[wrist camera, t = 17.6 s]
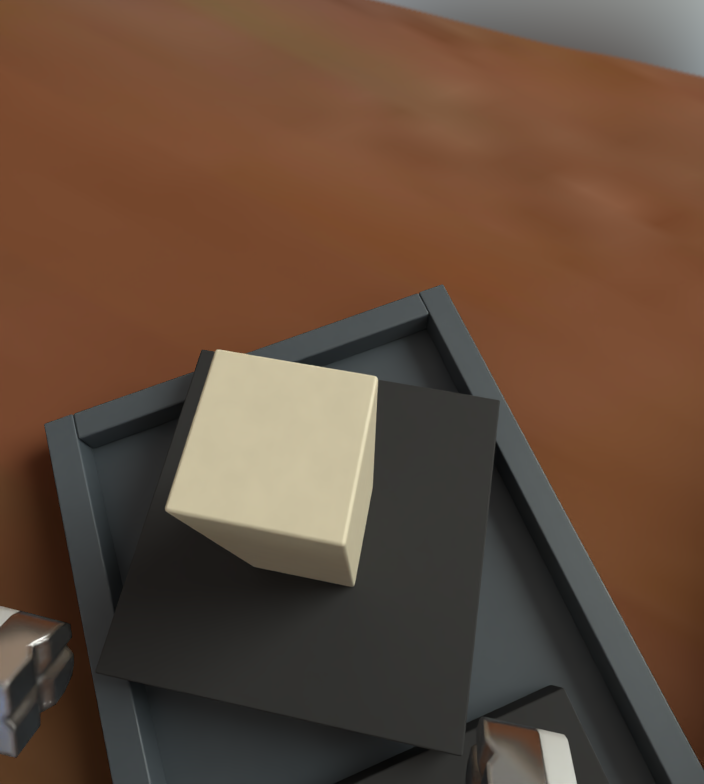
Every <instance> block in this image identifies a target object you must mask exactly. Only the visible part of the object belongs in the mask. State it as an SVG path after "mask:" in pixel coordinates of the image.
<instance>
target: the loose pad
mask: <svg viewBox="0 0 704 784" xmlns="http://www.w3.org/2000/svg"><path fill="white" fill-rule="evenodd" d="M499 406H500V401H499V400H496V399H490V398H484V397H478V396H473V395H467V394H461V393H455V392H449V391H443V390H437V389H431V388H425V387H419V386H414V385H408V384H402V383H396V382H390V381H384V380H378V378H377V377H376V376H372V375H366V374H360V373H354V372H348V371H343V370H337V369H331V368H325V367H319V366H313V365H307V364H301V363H295V362H289V361H283V360H277V359H272V358H266V357H260V356H254V355H248V354H242V353H236V352H230V351H224V350H216V351H215V352H213V351H207V350H202V351H201V353H200V356H199V359H198V362H197V365H196V368H195V371H194V374H193V377H192V381H191V384H190V387H189V390H188V393H187V396H186V399H185V402H184V405H183V408H182V411H181V414H180V417H179V420H178V423H177V426H176V429H175V432H174V435H173V438H172V441H171V444H170V447H169V450H168V453H167V456H166V459H165V462H164V465H163V468H162V471H161V474H160V477H159V480H158V483H157V486H156V489H155V492H154V495H153V498H152V501H151V504H150V507H149V510H148V513H147V516H146V519H145V522H144V525H143V528H142V531H141V535H140V538H139V541H138V544H137V547H136V550H135V553H134V556H133V559H132V562H131V565H130V568H129V571H128V574H127V577H126V580H125V583H124V586H123V589H122V592H121V595H120V598H119V601H118V604H117V607H116V610H115V613H114V616H113V619H112V622H111V625H110V628H109V631H108V634H107V637H106V640H105V643H104V646H103V649H102V652H101V655H100V658H99V661H98V664H97V667H96V670H95V672H96V673H97V674H102V675H106V676H110V677H115V678H119V679H124V680H128V681H132V682H137V683H141V684H145V685H150V686H154V687H159V688H163V689H167V690H172V691H176V692H180V693H185V694H189V695H194V696H198V697H202V698H207V699H211V700H215V701H220V702H224V703H229V704H233V705H237V706H242V707H246V708H250V709H255V710H259V711H263V712H268V713H272V714H277V715H281V716H285V717H290V718H294V719H298V720H303V721H307V722H312V723H316V724H320V725H325V726H329V727H333V728H338V729H342V730H347V731H351V732H355V733H360V734H364V735H368V736H373V737H377V738H382V739H386V740H390V741H395V742H399V743H403V744H408V745H412V746H417V747H421V748H425V749H430V750H434V751H438V752H443V753H447V754H452V755H456V756H462V755H463V749H464V740H465V730H466V721H467V711H468V702H469V692H470V682H471V673H472V663H473V654H474V644H475V635H476V625H477V616H478V606H479V597H480V587H481V578H482V568H483V559H484V549H485V539H486V530H487V520H488V511H489V501H490V492H491V482H492V473H493V463H494V454H495V444H496V435H497V425H498V416H499Z"/></svg>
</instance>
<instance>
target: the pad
mask: <svg viewBox="0 0 704 784" xmlns="http://www.w3.org/2000/svg"><path fill="white" fill-rule="evenodd" d="M481 717H482V716H481ZM481 717H479V718H477V719H474V720H472V721H470V722H468V723H466V730H465V740H464V749H463V755H462V756H456V755H452V754H447V753H443V752H438V751H434V750H430V749H425V748H421V747H417V746H415V747H413V748H411V749H409V750H406V751H404V752H402V753H400V754H398V755H395V756H393V757H391V758H389V759H387V760H384V761H382V762H380V763H378V764H376V765H373V766H371V767H369V768H367V769H365V770H362V771H360V772H358V773H356V774H354V775H352V776H349V777H347V778H345V779H343V780H341V781H338V782H336V783H334V784H465V776H466V769H467V761H468V757H469V753H470V749H471V746H473V745H475V744H476V728H477V725H478V722H479V720H480V718H481ZM483 717H488V718H493V719H497V720H502V721H507V722H512V723H516V724H521V725H526V726H530V727H534V728H535V729H542V730H546V731H550V732H555V733H559V734H564V735H565V737H566V738H567V740H568V743H569V748H570V753H571V757H572V762H573V767H574V772H575V776H576V781H577V784H610V783H609V781H608V779H607V777H606V775H605V773H604V771H603V769H602V767H601V764H600V762H599V760H598V758H597V756H596V754H595V752H594V750H593V748H592V746H591V744H590V741H589V739H588V737H587V735H586V733H585V731H584V729H583V727H582V725H581V723H580V721H579V718H578V716H577V714H576V712H575V710H574V708H573V706H572V704H571V702H570V700H569V698H568V695H567V693H566V691H565V689H564V688H562V687H558V686H554V685H549V686H547V687H545V688H542V689H540V690H538V691H536V692H534V693H531V694H529V695H527V696H525V697H523V698H520V699H518V700H516V701H514V702H512V703H509V704H507V705H505V706H503V707H501V708H498V709H496V710H494V711H492V712H490V713H488V714H485V715H483Z"/></svg>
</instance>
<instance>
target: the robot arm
mask: <svg viewBox="0 0 704 784" xmlns="http://www.w3.org/2000/svg"><path fill="white" fill-rule="evenodd" d="M71 638H72V632H71V625H70V624H68V623H65V622H62V621H58V620H54V619H50V618H46V617H43V616H39V615H35V614H31V613H27V612H23V611H19V610H15V609H10V608H6V607H2V606H0V754H2V755H7V756H11V757H16V758H17V756H18V755H19V754H20V752H21V751H22V749H23V748H24V747H25V745H26V744H27V743H28V741H29V740H30V739H31V737H32V736H33V735H34V733H35V732H36V731H37V729H38V728H39V726H40V713H41V712H43V711H45V710H47V709H49V708H50V707H52V706H54V705H56V703H57V702H58V700H59V699H60V698H61V696H62V695H63V693H64V692H65V690H66V688H67V685H68V683H69V681H70V679H71V676H72V672H73V667H74V654H73V653H72V651H71V650H70V649H69V647H68V646H67V645H66V644H67V643H68V642H69V640H70V639H71ZM465 784H577V781H576V776H575V772H574V767H573V762H572V757H571V753H570V748H569V743H568V740H567V738H566V737H565V735H564V734H559V733H555V732H550V731H546V730H542V729H535V728H534V727H530V726H526V725H521V724H516V723H512V722H507V721H502V720H497V719H493V718H488V717H483V716H482V717H481V718H480V720H479V722H478V725H477V728H476V744H475V745H473V746H471V749H470V753H469V757H468V761H467V769H466V776H465Z"/></svg>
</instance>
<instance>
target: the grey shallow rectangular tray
mask: <svg viewBox="0 0 704 784" xmlns="http://www.w3.org/2000/svg"><path fill="white" fill-rule="evenodd" d="M246 354H248V355H254V356H260V357H266V358H272V359H277V360H283V361H289V362H295V363H301V364H307V365H313V366H319V367H325V368H331V369H337V370H343V371H348V372H354V373H360V374H366V375H372V376H376V377H377V378H378V380H384V381H390V382H396V383H402V384H408V385H414V386H419V387H425V388H431V389H437V390H443V391H449V392H455V393H461V394H467V395H473V396H478V397H484V398H490V399H496V400H499V401H500V406H499V416H498V425H497V435H496V444H495V454H494V463H493V473H492V482H491V492H490V501H489V511H488V520H487V530H486V539H485V549H484V559H483V568H482V578H481V587H480V597H479V606H478V616H477V625H476V635H475V644H474V654H473V663H472V673H471V682H470V692H469V702H468V711H467V721H466V723H468V722H470V721H472V720H474V719H477V718H479V717H481V716H483V715H485V714H488V713H490V712H492V711H494V710H496V709H498V708H501V707H503V706H505V705H507V704H509V703H512V702H514V701H516V700H518V699H520V698H523V697H525V696H527V695H529V694H531V693H534V692H536V691H538V690H540V689H542V688H545V687H547V686H549V685H554V686H558V687H562V688H564V689H565V691H566V693H567V695H568V698H569V700H570V702H571V704H572V706H573V708H574V710H575V712H576V714H577V716H578V718H579V721H580V723H581V725H582V727H583V729H584V731H585V733H586V735H587V737H588V739H589V741H590V744H591V746H592V748H593V750H594V752H595V754H596V756H597V758H598V760H599V762H600V764H601V767H602V769H603V771H604V773H605V775H606V777H607V779H608V781H609V783H610V784H704V770H703V768H702V766H701V764H700V763H699V761H698V759H697V757H696V755H695V753H694V751H693V749H692V748H691V746H690V744H689V742H688V740H687V738H686V736H685V735H684V733H683V731H682V729H681V727H680V725H679V723H678V722H677V720H676V718H675V716H674V714H673V712H672V710H671V708H670V707H669V705H668V703H667V701H666V699H665V697H664V695H663V694H662V692H661V690H660V688H659V686H658V684H657V682H656V681H655V679H654V677H653V675H652V673H651V671H650V669H649V667H648V666H647V664H646V662H645V660H644V658H643V656H642V654H641V653H640V651H639V649H638V647H637V645H636V643H635V641H634V640H633V638H632V636H631V634H630V632H629V630H628V628H627V626H626V625H625V623H624V621H623V619H622V617H621V615H620V613H619V612H618V610H617V608H616V606H615V604H614V602H613V600H612V599H611V597H610V595H609V593H608V591H607V589H606V587H605V585H604V584H603V582H602V580H601V578H600V576H599V574H598V572H597V571H596V569H595V567H594V565H593V563H592V561H591V559H590V558H589V556H588V554H587V552H586V550H585V548H584V546H583V544H582V543H581V541H580V539H579V537H578V535H577V533H576V531H575V530H574V528H573V526H572V524H571V522H570V520H569V518H568V517H567V515H566V513H565V511H564V509H563V507H562V505H561V503H560V502H559V500H558V498H557V496H556V494H555V492H554V490H553V489H552V487H551V485H550V483H549V481H548V479H547V477H546V476H545V474H544V472H543V470H542V468H541V466H540V464H539V462H538V461H537V459H536V457H535V455H534V453H533V451H532V449H531V448H530V446H529V444H528V442H527V440H526V438H525V436H524V435H523V433H522V431H521V429H520V427H519V425H518V423H517V421H516V420H515V418H514V416H513V414H512V412H511V410H510V408H509V407H508V405H507V403H506V401H505V399H504V397H503V395H502V394H501V392H500V390H499V388H498V386H497V384H496V382H495V380H494V379H493V377H492V375H491V373H490V371H489V369H488V367H487V366H486V364H485V362H484V360H483V358H482V356H481V354H480V353H479V351H478V349H477V347H476V345H475V343H474V341H473V339H472V338H471V336H470V334H469V332H468V330H467V328H466V326H465V325H464V323H463V321H462V319H461V317H460V315H459V313H458V312H457V310H456V308H455V306H454V304H453V302H452V300H451V298H450V297H449V295H448V293H447V291H446V289H445V287H444V285H439V286H436V287H434V288H431V289H428V290H425V291H422V292H420V293H419V294H414V295H412V296H409V297H406V298H403V299H400V300H397V301H394V302H392V303H389V304H386V305H383V306H380V307H377V308H375V309H372V310H369V311H366V312H363V313H360V314H357V315H355V316H352V317H349V318H346V319H343V320H340V321H337V322H335V323H332V324H329V325H326V326H323V327H320V328H318V329H315V330H312V331H309V332H306V333H303V334H300V335H298V336H295V337H292V338H289V339H286V340H283V341H280V342H278V343H275V344H272V345H269V346H266V347H263V348H260V349H258V350H255V351H252V352H249V353H246ZM193 374H194V372H192V373H189V374H186V375H183V376H181V377H178V378H175V379H172V380H169V381H166V382H164V383H161V384H158V385H155V386H152V387H149V388H146V389H144V390H141V391H138V392H135V393H132V394H129V395H126V396H124V397H121V398H118V399H115V400H112V401H109V402H106V403H104V404H101V405H98V406H95V407H92V408H89V409H87V410H84V411H81V412H78V413H75V414H74V415H69V416H66V417H63V418H60V419H57V420H54V421H51V422H49V423H46V424H45V425H44V426H45V431H46V436H47V441H48V447H49V452H50V457H51V462H52V468H53V473H54V478H55V483H56V489H57V494H58V499H59V504H60V510H61V515H62V520H63V525H64V530H65V536H66V541H67V546H68V551H69V557H70V562H71V567H72V572H73V578H74V583H75V588H76V593H77V599H78V604H79V609H80V614H81V620H82V625H83V630H84V635H85V641H86V646H87V651H88V656H89V662H90V667H91V672H92V677H93V682H94V688H95V693H96V698H97V703H98V709H99V714H100V719H101V724H102V730H103V735H104V740H105V745H106V751H107V756H108V761H109V766H110V772H111V777H112V782H113V784H334V783H336V782H338V781H341V780H343V779H345V778H347V777H349V776H352V775H354V774H356V773H358V772H360V771H362V770H365V769H367V768H369V767H371V766H373V765H376V764H378V763H380V762H382V761H384V760H387V759H389V758H391V757H393V756H395V755H398V754H400V753H402V752H404V751H406V750H409V749H411V748H413V747H415V746H412V745H408V744H403V743H399V742H395V741H390V740H386V739H382V738H377V737H373V736H368V735H364V734H360V733H355V732H351V731H347V730H342V729H338V728H333V727H329V726H325V725H320V724H316V723H312V722H307V721H303V720H298V719H294V718H290V717H285V716H281V715H277V714H272V713H268V712H263V711H259V710H255V709H250V708H246V707H242V706H237V705H233V704H229V703H224V702H220V701H215V700H211V699H207V698H202V697H198V696H194V695H189V694H185V693H180V692H176V691H172V690H167V689H163V688H159V687H154V686H150V685H145V684H141V683H137V682H132V681H128V680H124V679H119V678H115V677H110V676H106V675H102V674H97V673H96V672H95V670H96V667H97V664H98V661H99V658H100V655H101V652H102V649H103V646H104V643H105V640H106V637H107V634H108V631H109V628H110V625H111V622H112V619H113V616H114V613H115V610H116V607H117V604H118V601H119V598H120V595H121V592H122V589H123V586H124V583H125V580H126V577H127V574H128V571H129V568H130V565H131V562H132V559H133V556H134V553H135V550H136V547H137V544H138V541H139V538H140V535H141V531H142V528H143V525H144V522H145V519H146V516H147V513H148V510H149V507H150V504H151V501H152V498H153V495H154V492H155V489H156V486H157V483H158V480H159V477H160V474H161V471H162V468H163V465H164V462H165V459H166V456H167V453H168V450H169V447H170V444H171V441H172V438H173V435H174V432H175V429H176V426H177V423H178V420H179V417H180V414H181V411H182V408H183V405H184V402H185V399H186V396H187V393H188V390H189V387H190V384H191V381H192V377H193Z"/></svg>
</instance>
